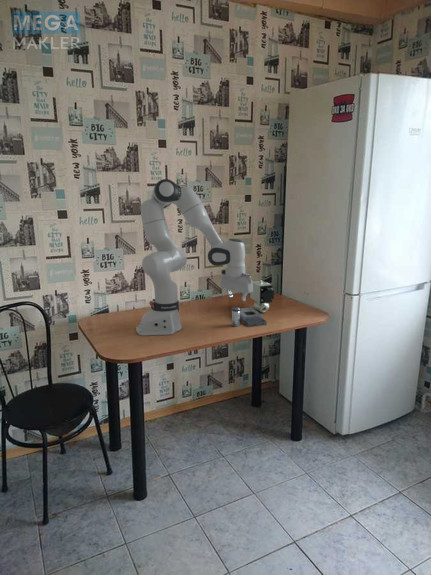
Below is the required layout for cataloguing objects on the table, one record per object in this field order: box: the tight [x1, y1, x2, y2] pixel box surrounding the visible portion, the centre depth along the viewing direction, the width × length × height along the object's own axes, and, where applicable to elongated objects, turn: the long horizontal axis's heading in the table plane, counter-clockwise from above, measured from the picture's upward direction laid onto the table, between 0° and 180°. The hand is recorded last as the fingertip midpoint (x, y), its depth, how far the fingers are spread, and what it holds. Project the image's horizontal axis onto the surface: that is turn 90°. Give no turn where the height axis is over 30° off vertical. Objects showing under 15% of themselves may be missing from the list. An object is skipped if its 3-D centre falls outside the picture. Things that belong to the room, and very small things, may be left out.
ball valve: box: [248, 279, 275, 313], centre depth 232 cm, size 18×8×18 cm, turn 22°
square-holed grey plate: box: [240, 306, 267, 328], centre depth 219 cm, size 10×20×4 cm, turn 17°
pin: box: [230, 306, 242, 328], centre depth 210 cm, size 5×5×9 cm
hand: (236, 299), depth 207 cm, fingers open, 8 cm apart
